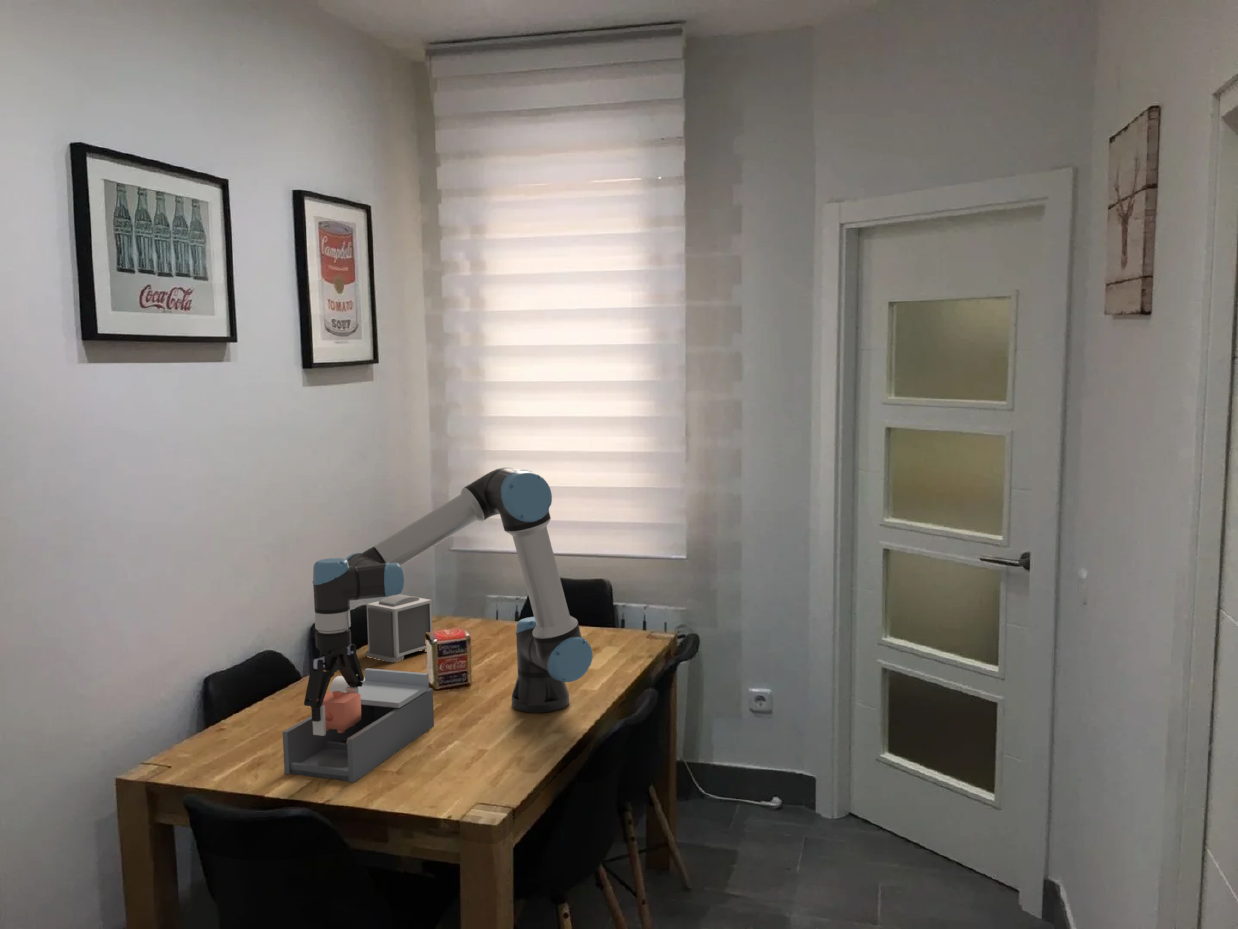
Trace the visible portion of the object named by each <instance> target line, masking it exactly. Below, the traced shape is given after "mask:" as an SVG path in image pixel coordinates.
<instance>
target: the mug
mask: <svg viewBox="0 0 1238 929" xmlns="http://www.w3.org/2000/svg"><path fill="white" fill-rule="evenodd" d="M363 681H365V676H364V680H363ZM363 681H361V682H363ZM346 687H350V686H348V684H347V683H346V681H345V679H344V678H343V676H342V675H337V676H334V679H333V680H332V681H331V684H330V687H329V691H333V692H334V691H341V692H345V691H346Z"/></svg>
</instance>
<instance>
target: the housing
mask: <svg viewBox="0 0 1238 929" xmlns="http://www.w3.org/2000/svg"><path fill="white" fill-rule="evenodd" d="M434 711H435V710H434V688H431V687H429V690H427V691H426V692H424V693H422V694H421V695H419V696H418V697H416V698H414V699H413V700H411V701H410V702H408V703H407V704H405V705H403V706H402V707H400V708H393V707H383V706H373V705H363V704H361V720H360V721H359V722H357V723H356V724H354V725H355V726H353V727H350V728H348V729H346V730H345V732H344V733H337V729H329V731H326V735H324V736H321V735H313V721H312V715H310V716H309V717H307V718H305V719H303V720H301V721H299V722H297V723H296V724H294V725H293V726H290V727H289V728H287V729H285V730H283V731H282V747H283V748H282V750H283V765H284V766H283V768H284V771H283V772H284V774H285V775H298V776H306V777H314V778H323V779H328V780H329V779H331V780H338V781H346V782H348V783H352V784H353V783H356V782H357V781H358V780H360V779H362V778H363V777H364V776H366V775H367V774H369V773H370V772H371V771H373V770H374V769H375V768H377V767H378V766H380V765H381V764H382V763H384V762H386V760H388V759H389V758H391V757H392V756H394V755H395V754H397V753H398V752H399V751H401V750H402V749H404V748H406V747H407V746H408V745H409V744H410V743H412V742H414V741H415V740H416V739H417V738H420V737H421V735H423V734H425V733H426V732H428V731H429V730H430V729H432V728H434V726H435V718H434V717H435V715H434ZM344 741H346V742H344Z"/></svg>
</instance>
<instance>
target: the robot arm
mask: <svg viewBox="0 0 1238 929" xmlns="http://www.w3.org/2000/svg"><path fill="white" fill-rule="evenodd" d="M552 502H553V496H552V490H551V487H550V486H549V483H548V482H547V481H546V479H545V478H544V477H542V476H541V475H540V474H537V473H535V472H533V471H531V470H527V469H517V468H513V467H501V468H496V469H494V470H491V471H490V472H488V473H486V474H484V475H482V476H481V477H479V478H477V479H475V480H474V481H473V482H471V483H469V484H467V485H466V486H464V487H463V488H462V489H461V491H460V494H458V496H455V497H454V498H452V499H450V500H449V501H447V502H446V503H444V504H443V505H440V506H439V507H437V508H435V509H434V510H432V511H431V512H428V513H427V514H425V515H424V516H422V517H421V518H418V519H417V520H415V521H413V522H412V523H410V524H408V525H407V526H405V527H404V528H402V529H400V530H399V531H397V532H395V533H393V534H392V535H390V536H389V537H387V538H385V539H383V540H381V541H380V542H378V543H377V544H375V545H373V546H372V547H370V548H368V549H366V550H364V551H363V552H357V553H352V554H350V555H348V556H347V557H345V558H343V557H341V558H340V557H336V558H333V557H332V558H331V557H330V558H324V559H319V560H318V561H315V563H314V564H313V566H312V567H313V569H312V570H313V572H312V573H313V574H312V584H313V585H312V586H313V602H314V606H313V607H314V628H315V630H316V632H314V635H315V636H314V637H315V638H314V639H315V647H316V649H318V650H319V652H320V655H319V658H311V659H310V671H309V677H308V680H307V681H308V682H307V685H306V691H305V697H304V702H303V705H304V706H306V707H310V710H311V716H312V721H313V735H321V736H324V735H326V724H325V705H322V703H323V700H324V697H325V694H326V693H327V690H328V688H329V684H330V681H331V679H332V678H333V677H335V673H337V672H338V671H339V673H340V674H341V676H343V678H344V679H345V681H346V683H347V684H348V686H350V687H346V693H347V692H351V693H357V694H358V687H362V685H363V682H361V681H363V680H364V677H365V675H364V673H363V670H362V666H361V664H360V660H359V657H358V654H357V645H356V644H354V643H352V630H351V629H350V627H351V626H352V625H351V624H352V622H351V608H350V607H351V606H350V605H351V603H350V602H351V601H358V600H368V599H378V598H379V599H380V598H385V597H389V596H394V595H399V594H402V593H403V590H404V586H405V576H404V571H403V567H402V566H403V565H405V564H407V563H408V562H410V561H412V560H414V559H415V558H416V557H418V556H420V555H422V554H423V553H425V552H427V551H428V550H430V549H431V548H433V547H435V546H436V545H438V544H440V543H442V542H443V541H445V540H446V539H449V537H451V536H453V535H455V534H456V533H458V532H460V531H461V530H462V529H463V530H464V529H465V528H467V527H468V526H469V525H472V523H474V522H476V521H477V522H484V521H486V520H487V519H490V517H494V516H498V515H500V520H501V522H502V527H503V529H504V530H503V531H504V532H505V533H507V534H509V535H510V536H512V539H513V543H514V547H515V551H516V554H517V558H518V561H519V565H520V569H521V574H522V577H523V580H524V584H525V588H526V591H527V594H528V598H529V601H530V602H529V603H530V607H531V610H532V613H533V616H530V617H529V616H528V617H525V618H522V619H520V620H518V622H517V623H516V631H515V636H516V638H515V639H516V660H517V663H516V664H517V678H516V679H515V684H514V688H513V691H512V694H511V706H512V707H513V708H514V709H515V710H516V711H521V712H525V713H533V714H534V713H536V714H537V713H549V712H550V713H551V712H554V711H559V710H562V709H564V708H566V707H567V706H569V704H570V693H569V691H568V690H569V689H568V687H567V684H566V683H571V682H575V681H578V680H580V679H581V678H582V677H583V676H585V674H586V673H587V672H588V671H589V668H590V667H591V665H592V661H593V655H594V654H593V648H592V646H591V644H590V643H589V642H588V640H587V639H586V638H584V637H583V636H582V634H581V629H580V625H579V621H578V619H577V618H576V617H574V616H572V615H570V611H569V608H568V604H567V600H566V596H565V592H564V588H563V585H562V580H561V576H560V573H559V569H558V565H557V562H556V559H555V558H556V557H555V555H554V550H553V547H552V543H551V540H550V539H551V538H550V535H549V532H548V528H547V527H548V524H549V523H550V521H551V519H552V518H551V514H550V507H551V506H552Z"/></svg>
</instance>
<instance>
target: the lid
mask: <svg viewBox="0 0 1238 929" xmlns="http://www.w3.org/2000/svg"><path fill="white" fill-rule="evenodd" d="M363 670H364V677H365V681H363V685H362V687H358V694H360V695H361V704H363V705H373V706H383V707H393V708H400V707H402V706H403V705H405V704H407V703H408V702H410V701H411V700H413V699H414V698H416V697H418V696H419V695H421V694H422V693H424V692H426V691H427V690H429V688H430V687H429V686H430V685H429V684H430V683H429V682H430V681H429V679H430V678H429V673H426V672H425V673H424V672H418V671H417V672H416V671H415V672H414V671H404V670H403V671H402V670H392V669H391V670H390V669H381V668H367V667H366V668H365V669H363ZM345 692H346V691H345Z"/></svg>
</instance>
